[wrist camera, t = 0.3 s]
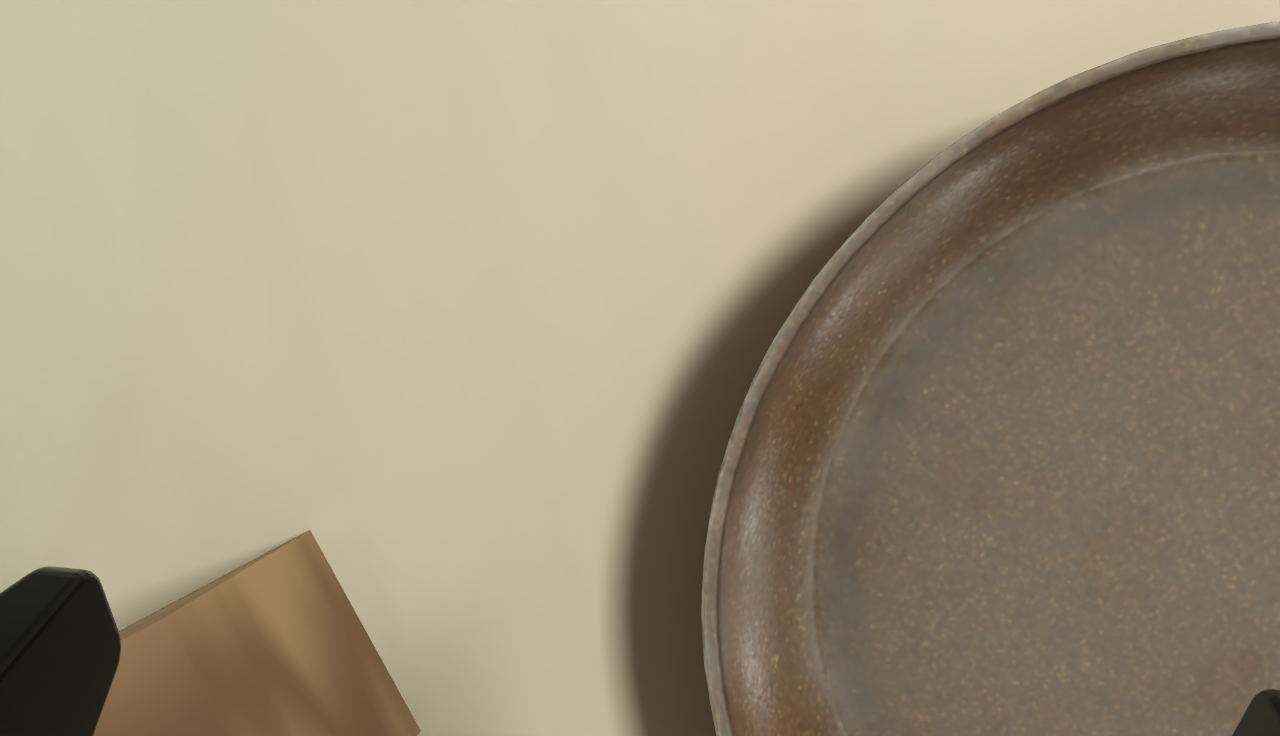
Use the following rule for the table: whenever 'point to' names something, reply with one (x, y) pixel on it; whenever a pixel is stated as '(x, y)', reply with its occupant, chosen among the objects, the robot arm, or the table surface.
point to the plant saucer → (1026, 431)
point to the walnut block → (256, 660)
